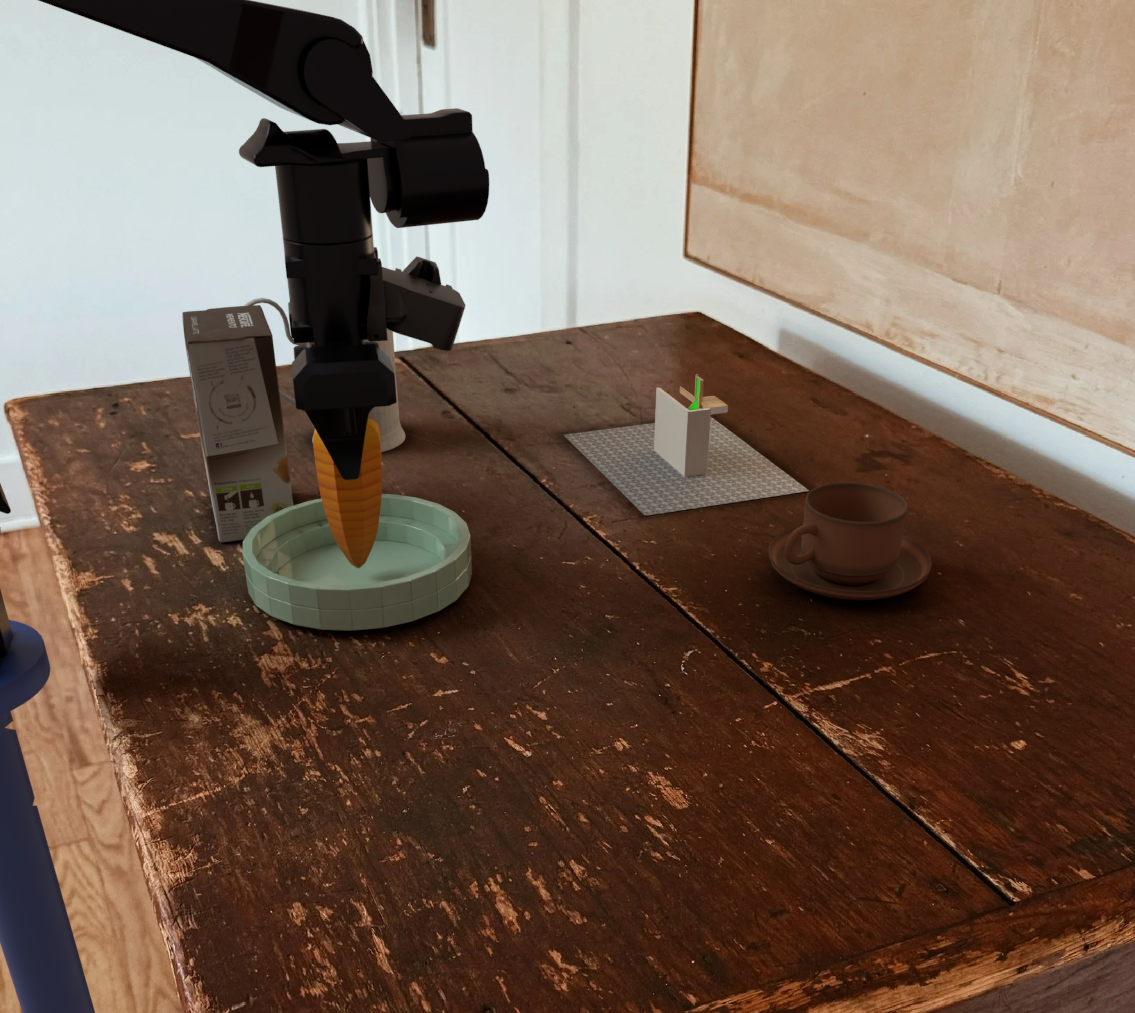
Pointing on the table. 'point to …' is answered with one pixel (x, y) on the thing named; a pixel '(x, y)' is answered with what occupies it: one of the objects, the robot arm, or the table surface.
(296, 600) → the bowl
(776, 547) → the cup and saucer
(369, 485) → the carrot
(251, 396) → the coffee box
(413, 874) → the table surface
